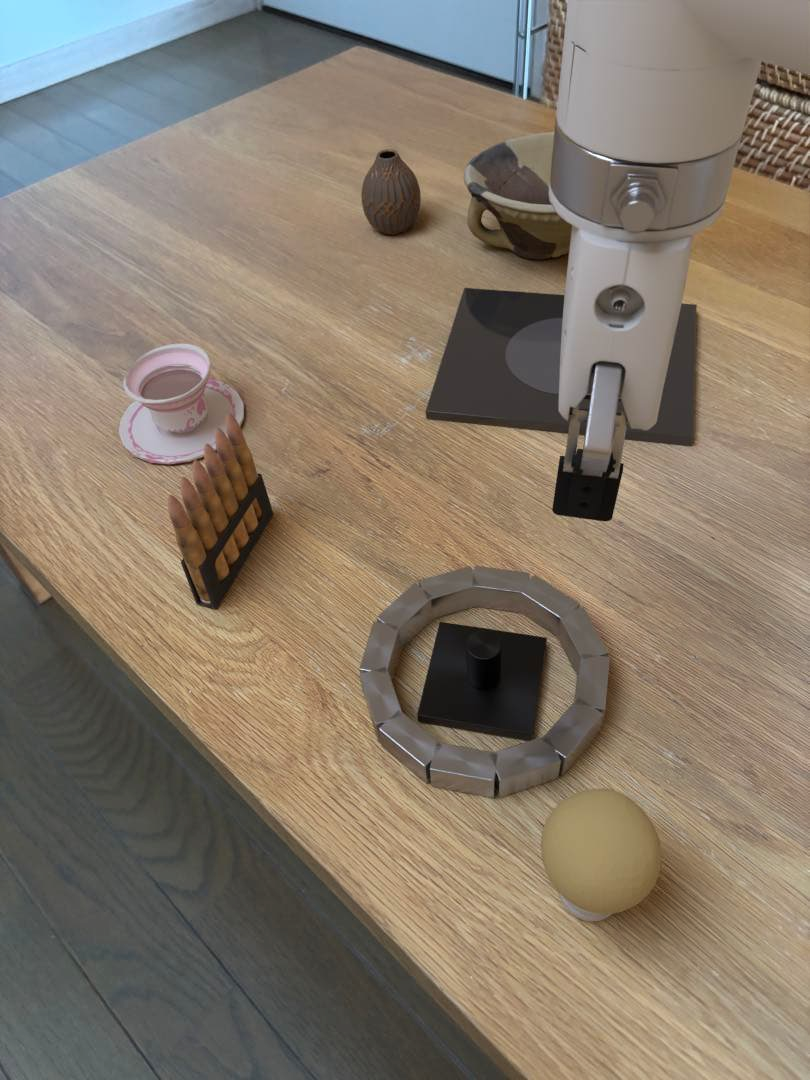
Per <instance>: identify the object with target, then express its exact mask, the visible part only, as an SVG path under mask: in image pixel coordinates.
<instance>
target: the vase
mask: <svg viewBox="0 0 810 1080" xmlns="http://www.w3.org/2000/svg"><path fill="white" fill-rule="evenodd" d="M360 196H361V197H360V199H361V205H362V206H361V207H362V211H363V213H364V215H365V218H366V220H367V221H368V224H370V226H371V227H372V228H374V229H375V230H376V231H378V232H379V233H381V234H385V235H389V236H391V235H399V234H402V233H405V232H406V231H408V230H409V229H410V228H411V227H412V226H413V225H414V224H415V222H416V220H417V219H418V217H419V214H420V210H421V205H422V204H421V202H422V201H421V200H422V197H421V189H420V184H419V181H418V178H417V177H416V174H415V173H414V172H413V170H412V169H411V168H410V166H409V165H407V163H406V162H404V160H403V159H402V157H401V156H400V154H399V153H398V151H397V150H395V149H391V148H390V149H389V148H388V149H383V150H380V151H379V152H377V154H376V157H375V159H374V162H373V164H372V165H371V167H369V169H368V171H367V172H366V174H365V176H364V179H363V181H362V186H361V195H360Z"/></svg>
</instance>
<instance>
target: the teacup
mask: <svg viewBox="0 0 810 1080" xmlns="http://www.w3.org/2000/svg"><path fill="white" fill-rule="evenodd" d="M210 376H211V360H210V357H209V355H208V353H206V352H205V350H203V349H202V348H201V347H199V346H198V345H195V344H192V343H191V344H190V343H170V344H166V345H162V346H159V347H155V348H153V349H152V350H151V349H150V350H149V351H147V352H146V353H144V354H142V355H141V356H140V357H138V358H137V359H136V360H135V361H134V362H133V363H132V364H130V366H129V367H128V369H127V370H126V372H125V374H124V376H123V379H122V386H123V390H124V393H125V394H126V395H127V396H128V397H129V398H130V399H132V400H134V401H132V403H130V405H128V407H127V408H126V409H125V411H124V413H123V415H122V417H121V418H120V422H119V429H118V434H119V437H120V439H121V442H122V445H123V447H124V448H125V449H126V450H127V451H128V452H129V453H130V454H131V455H132V456H133V457H135V458H138V459H140V460H142V461H145V462H148V463H151V464H160V465H161V464H162V465H174V464H175V465H177V464H183V463H191V462H194V460H198V459H201V458H204V448H205V444H209V445H210V446H211V447H212V448H213V449H214V450H215V452H217V449H216V443H215V433H216V429H217V428H220V429H221V430H222V431H223V432H224V433H225V435H226V436H227V430H226V417H227V414H228V413H231V414H232V415H233V416H234V417H235V419H236V420H237V422H238V424H239V426H240V427H241V426H242V424H243V423H244V419H245V404H244V401H243V400H242V398H241V396H240V393H239V392H238V391H237V390H235V388H233V387H231V385H229V384H228V383H225V382H222V381H219V380H217V379H214V378H210ZM227 438H228V436H227ZM228 440H229V439H228Z"/></svg>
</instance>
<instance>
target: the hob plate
mask: <svg viewBox="0 0 810 1080" xmlns="http://www.w3.org/2000/svg"><path fill="white" fill-rule="evenodd" d="M564 296H565V294H557V293H542V292H529V291H517V290H516V291H514V290H499V289H486V288H473V287H464V288H463V291H462V294H461V297H460V300H459V304H458V306H457V309H456V314H455V316H454V319H453V323H452V326H451V329H450V331H449V335H448V338H447V341H446V345H445V348H444V351H443V354H442V356H441V357H442V358H441V361H440V364H439V366H438V367H439V368H438V370H437V374H436V376H435V379H434V383H433V386H432V390H431V393H430V395H429V399H428V402H427V406H426V408H425V418H426V419H427V420H436V421H444V422H445V421H447V422H457V423H464V424H466V423H467V424H474V425H475V424H476V425H485V426H494V427H495V426H496V427H504V428H514V429H522V430H523V429H524V430H533V431H544V432H553V433H562V434H568V432H569V425H570V417H569V420H568V421H567V420H565V419H564V418H563V417H562V415H561V414H560V413H559V411H558V408H559V377H560V353H561V335H562V321H563V308H564ZM697 307H698V306H697V304H695V303H682V304H681V309H680V314H679V318H678V323H677V327H676V332H675V337H674V341H673V346H672V350H671V355H670V359H669V364H668V369H667V373H666V378H665V383H664V387H663V392H662V397H661V402H660V407H659V412H658V417H657V422H656V424H655V425H654V426H653V427H651V428H650V429H648V430H643V429H632V428H631V427H630V425H629V422H628V423H627V427H626V433H625V440H631V441H641V442H650V443H660V444H669V445H670V444H671V445H678V446H688V447H691V446H692V445H693V442H694V438H695V437H694V434H695V431H694V430H695V428H694V427H695V391H696V390H695V389H696V388H695V387H696V352H697V351H696V345H697ZM621 402H622V401H619V402H618V404H617V412H616V413H620V408H621ZM589 405H590V400H589V399H583V400H582V401H581V402H580V408H579V409H587V410H589ZM586 427H587V422H580V429H579V435H582V436H585V434H586Z"/></svg>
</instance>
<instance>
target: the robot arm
mask: <svg viewBox="0 0 810 1080" xmlns="http://www.w3.org/2000/svg"><path fill="white" fill-rule="evenodd" d="M566 3H567V4H566V13H565V26H564V34H563V36H564V37H563V45H562V54H561V64H560V74H559V83H558V93H557V101H556V102H557V103H556V113H555V120H554V121H555V123H554V131H553V132H554V142H553V152H552V163H551V173H550V185H549V200H550V203H551V205H552V206H553V209H554V210H555V211H556V212H557V214H558V215H559V216H560V217H562V218H563V219H564V220H565V221H566V222H568V223H570V224H571V225H572V232H571V241H570V249H569V252H568V259H567V267H566V268H567V269H566V279H565V286H564V287H565V288H564V295H565V296H564V308H563V321H562V335H561V353H560V377H559V408H558V411H559V413H560V414H561V415H562V417H563V418H564V419H565V420H567V421H568V420H569V417H570V425H569V432H568V433H567V440H566V446H565V453H564V455H559V461H558V465H557V466H558V467H557V472H556V480H555V488H554V493H553V494H554V495H553V500H552V509H551V511H552V513H553V514H554V515H557V516H561V517H568V518H576V519H582V520H583V519H584V520H590V521H591V520H592V521H596V522H597V521H598V522H610V521H611V520H612V519H613V517H614V512H615V507H616V504H617V503H616V502H617V500H618V495H619V489H620V486H621V481H622V477H623V472H624V462H623V463H622V458H623V451H624V445H625V440H626V439H625V433H626V427H627V423H628V422H629V425H630V427H631V428H632V429H643V430H648V429H650V428H651V427H653V426H654V425H655V424H656V422H657V417H658V412H659V407H660V402H661V397H662V392H663V387H664V383H665V378H666V373H667V369H668V364H669V359H670V355H671V350H672V346H673V341H674V337H675V332H676V327H677V323H678V318H679V314H680V309H681V304H683V299H684V294H685V289H686V283H687V278H688V273H689V266H690V260H691V253H692V249H693V240H694V235H696V234H698V233H701V232H702V231H705V230H706V229H708V228H710V227H711V226H712V225H713V224H715V222H716V221H717V220H718V218H719V217H720V216H721V214H722V212H723V209H724V206H725V202H726V198H727V193H728V190H729V186H730V181H731V179H732V175H733V171H734V167H735V163H736V160H737V156H738V152H739V148H740V144H741V141H742V137H743V133H744V129H745V125H746V122H747V118H748V116H749V111H750V107H751V103H752V99H753V95H754V92H755V88H756V84H757V81H758V76H759V73H760V69H761V65H762V63H765V64H769V65H773V66H777V67H780V68H784V69H785V70H790V71H793V72H796V73H800V74H803V75H806V76H810V0H567V2H566ZM583 399H589V400H590V405H589V410H587V409H579V408H580V402H581V401H582V400H583ZM619 401H622V402H621V408H620V413H616V412H617V404H618V402H619ZM580 422H587V427H586V434H585V435H584V441H583V445H582V448H578V441H579V436H580V434H579V429H580Z"/></svg>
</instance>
